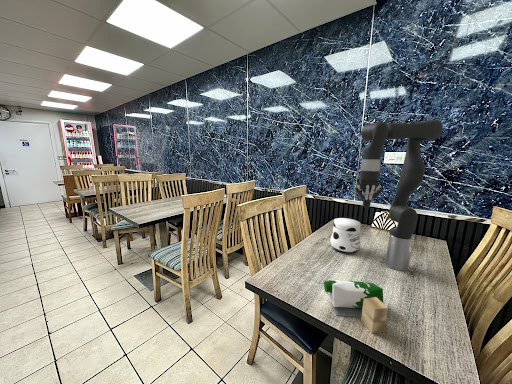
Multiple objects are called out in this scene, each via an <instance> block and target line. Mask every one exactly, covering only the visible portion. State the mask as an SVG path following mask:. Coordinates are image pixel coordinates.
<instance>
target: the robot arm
mask: <svg viewBox="0 0 512 384" xmlns="http://www.w3.org/2000/svg"><path fill="white" fill-rule="evenodd" d="M443 129H444V127H443V123H442V122H441V121H440V120H437V119H429V120H422V121H421V120H419V121H416V122H414V123H413V122H411V123H408V122H389V123H386V122H384V121H379V122H373V123H368V124H366V125H364V126H363V127H362V129H361V130H360V136H361V138H362V139H363V140H365V141H371V142H370V144H369V145H366V146H364V147H363V150H362V159H361V163H360V173H359V182H358V183H357V185H356V186H353V189H352V190H354V192H355V194H356V195H357V197H358V198H360V199H362V206H363V207H364V208H365V209H367V208H368V209H369V208H370V207H371V205H372V204H371V202H372V200H373V199H374V200H375V199H377V197H378V196H380V194H381V193H382V192H383V191H384V188H383V187H381V186H380V183H379V181H380V173H381V172H380V171H381V166H382V165H381V159H382V158H381V157H382V150H383V148H384V146H385V144H386V143H385V142H386V140H400V139H401V140H402V139H404V140H405V139H407V144H406V151H405V156H404V161H403V164H402V167H401V172H400V175H399V180H398V184H397V187H396V189H395V190H396V191H395V194H394V197H393V200H392V202H391V204H390V207H389V211H388V216H389V219H391V220H392V221H394V222H396V223H397V226H396V227H392V228H390V230H389V234H388V235H389V236H388V242H387V249H386V255H385V256H386V257H385V266H387V268H390V269H392V270H394V271H399V272H400V271H401V272H404V271H408V270H409V267H410V260H411V255H412V254H411V253H412V252H411V251H410V247H411V242H412V236H413V234H414V233H415V230H416V227H417V222H418V212H417V210H415V208H413V207H409V206H407V205H408V201H409V198H410V197H411V195H412V194H413V193H414V191H416V190H417V189H418V187H420V185H421V184H422V182H423V179H424V176H425V172H426V165H425V161H424V159H423V158H422V156H421V152H420V149H421V143H422V142H423V141H433V140H436V139H438V138H440V136H441V135H442V133H443Z"/></svg>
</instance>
